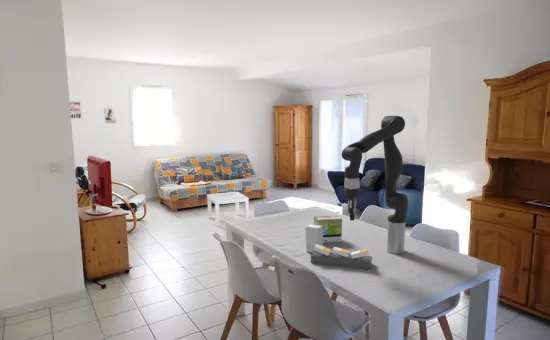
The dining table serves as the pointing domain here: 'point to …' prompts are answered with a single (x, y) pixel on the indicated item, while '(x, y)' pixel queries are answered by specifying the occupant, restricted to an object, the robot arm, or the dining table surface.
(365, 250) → the block
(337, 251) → the block
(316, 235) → the skincare box
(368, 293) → the dining table surface
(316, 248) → the block
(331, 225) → the tea box
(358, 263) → the power strip
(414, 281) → the dining table surface
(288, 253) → the dining table surface
